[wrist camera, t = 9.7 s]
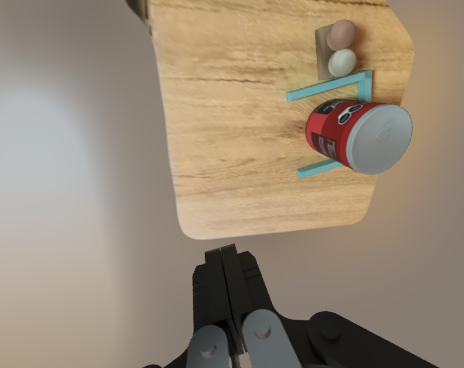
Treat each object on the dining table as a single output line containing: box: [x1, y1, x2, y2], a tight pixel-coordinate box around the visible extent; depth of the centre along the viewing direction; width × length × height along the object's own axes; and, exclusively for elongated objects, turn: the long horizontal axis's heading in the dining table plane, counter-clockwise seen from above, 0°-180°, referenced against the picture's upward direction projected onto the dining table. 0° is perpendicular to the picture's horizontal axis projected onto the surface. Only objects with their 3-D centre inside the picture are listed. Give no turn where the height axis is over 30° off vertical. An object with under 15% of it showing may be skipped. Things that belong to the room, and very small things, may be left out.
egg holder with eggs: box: [315, 20, 356, 80], centre depth 29 cm, size 6×3×5 cm, turn 14°
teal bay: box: [286, 70, 372, 178], centre depth 35 cm, size 13×12×2 cm
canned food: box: [305, 99, 413, 175], centre depth 30 cm, size 8×8×11 cm
